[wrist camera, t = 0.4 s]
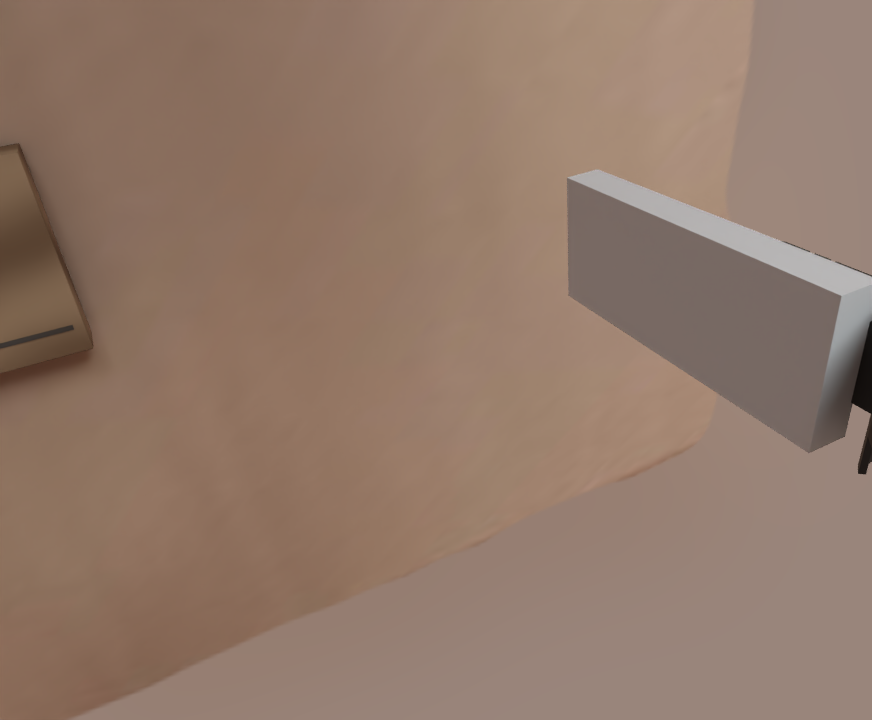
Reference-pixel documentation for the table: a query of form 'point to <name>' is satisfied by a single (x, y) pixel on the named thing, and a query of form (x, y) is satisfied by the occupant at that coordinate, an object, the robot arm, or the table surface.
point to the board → (33, 276)
